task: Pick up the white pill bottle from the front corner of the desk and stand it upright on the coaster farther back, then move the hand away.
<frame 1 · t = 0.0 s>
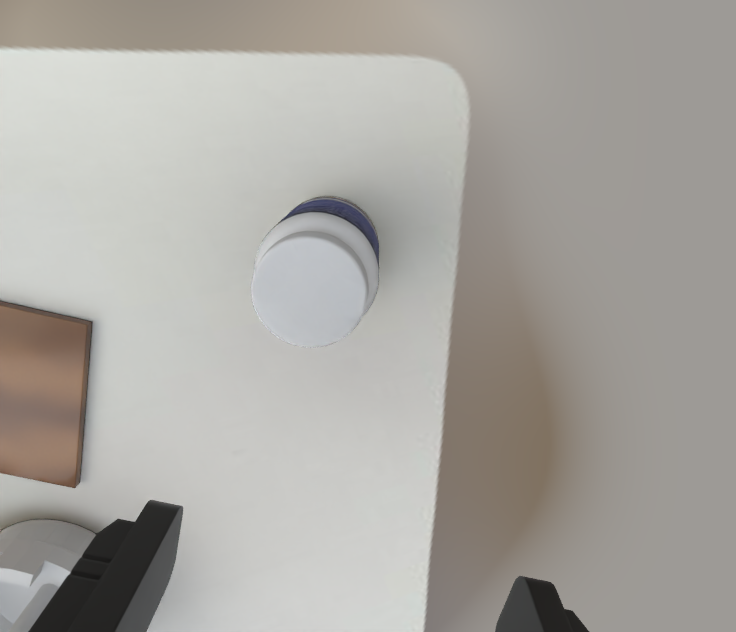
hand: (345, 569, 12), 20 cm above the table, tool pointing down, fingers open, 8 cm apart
flag stand: (59, 578, 38), on the table
pill bottle: (329, 245, 30), on the table
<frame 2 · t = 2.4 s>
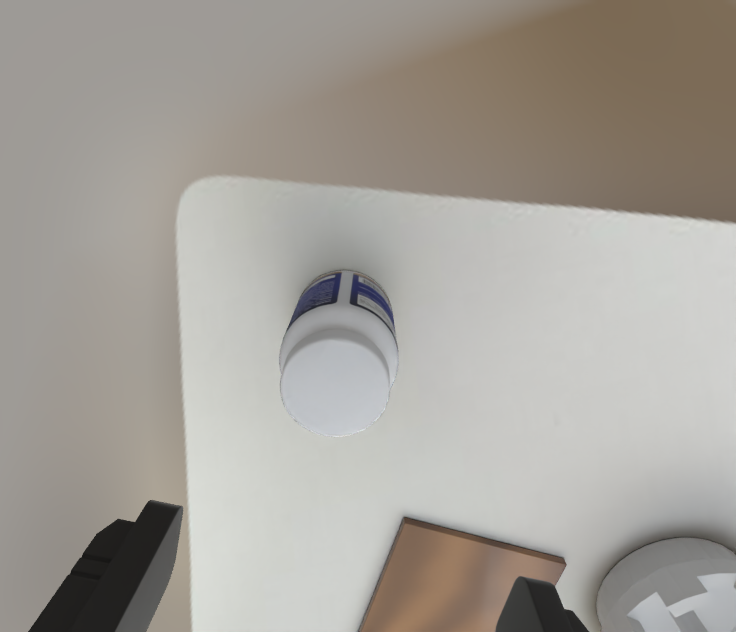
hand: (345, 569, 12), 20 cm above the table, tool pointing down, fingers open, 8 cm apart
coaster: (455, 600, 38), on the table
flag stand: (670, 595, 38), on the table
pill bottle: (345, 313, 31), on the table
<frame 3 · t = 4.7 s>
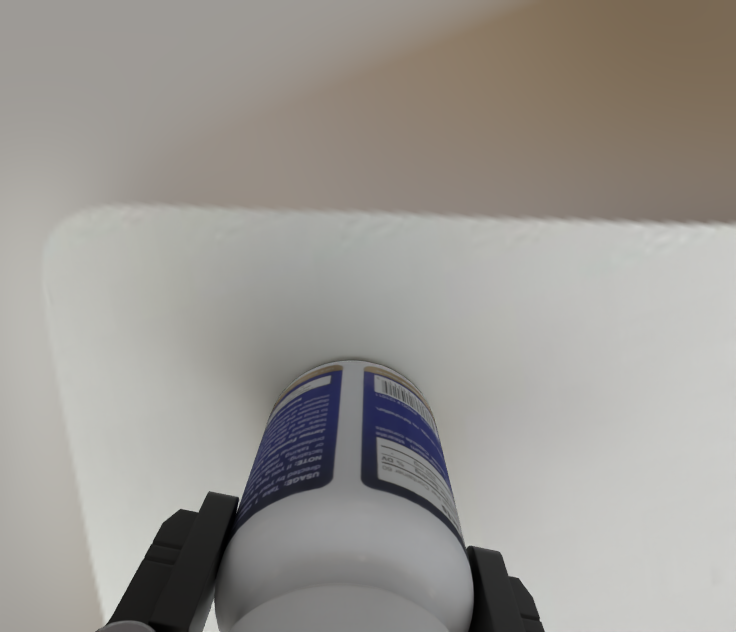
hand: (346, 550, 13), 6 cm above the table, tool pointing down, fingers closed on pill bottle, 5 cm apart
pill bottle: (353, 427, 18), on the table, touching gripper
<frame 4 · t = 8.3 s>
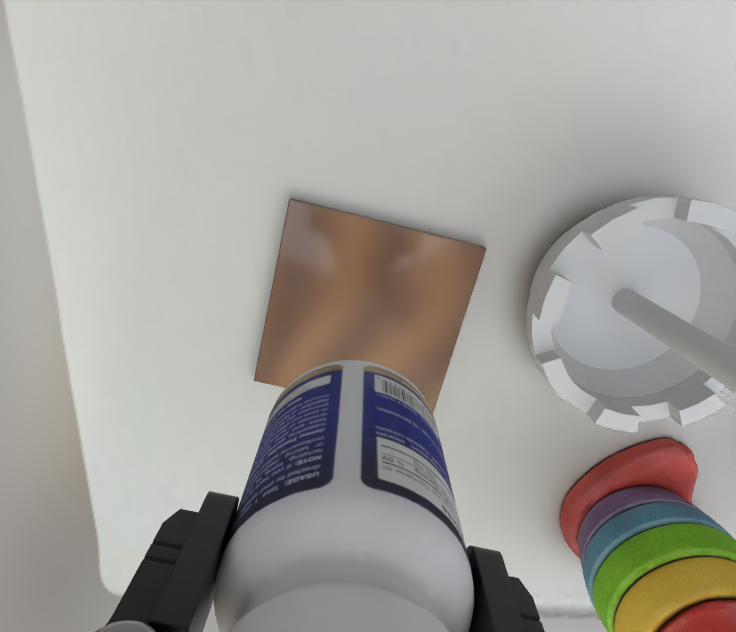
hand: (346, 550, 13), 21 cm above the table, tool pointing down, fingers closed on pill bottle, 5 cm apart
coaster: (365, 314, 33), on the table
flag stand: (615, 295, 33), on the table
stacking bear: (624, 508, 38), on the table
pill bottle: (353, 427, 18), point 15 cm above the table, touching gripper
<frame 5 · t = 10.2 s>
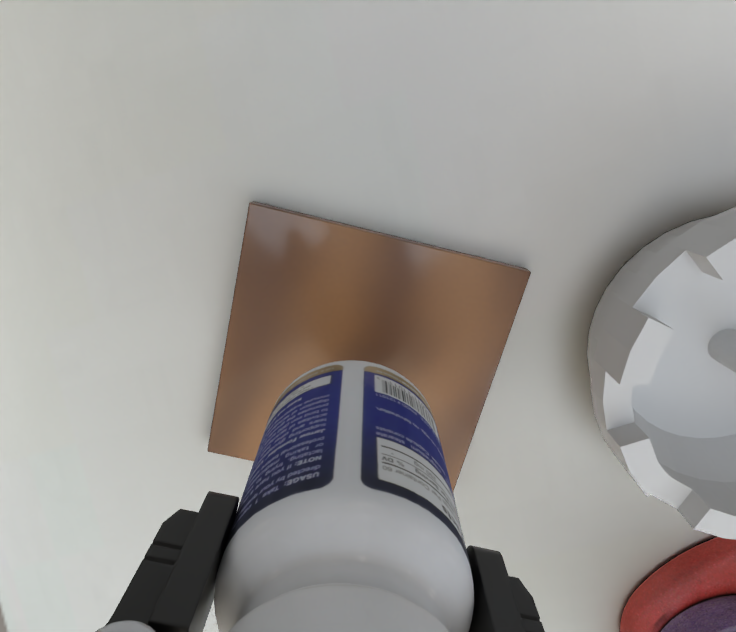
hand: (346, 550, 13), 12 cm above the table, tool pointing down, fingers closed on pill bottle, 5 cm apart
coaster: (359, 362, 24), on the table
flag stand: (708, 335, 23), on the table
stacking bear: (705, 611, 29), on the table
pill bottle: (353, 427, 18), point 6 cm above the table, touching gripper
when the fingers open (6 cm above the table, at t = 12.0 s): pill bottle stays where it is, resting on coaster.
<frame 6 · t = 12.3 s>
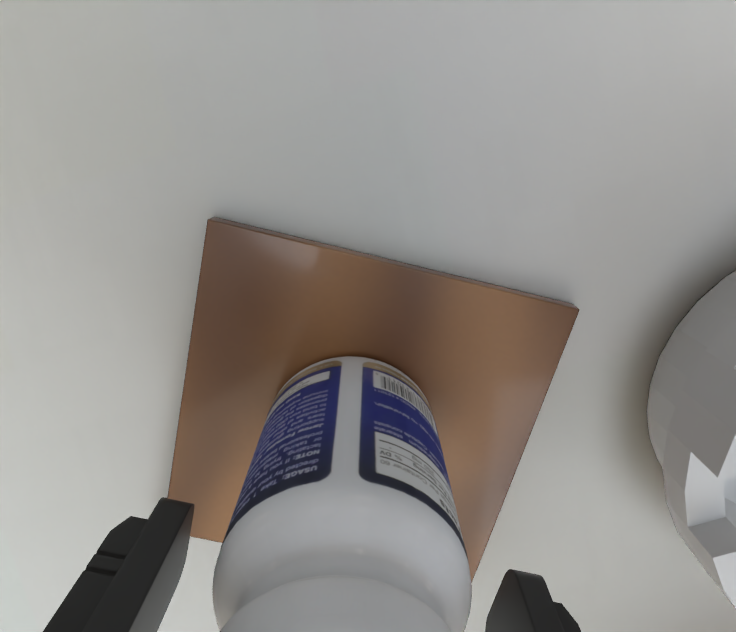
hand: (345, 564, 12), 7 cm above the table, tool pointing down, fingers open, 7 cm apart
coaster: (354, 420, 19), on the table
pill bottle: (352, 423, 18), resting on coaster
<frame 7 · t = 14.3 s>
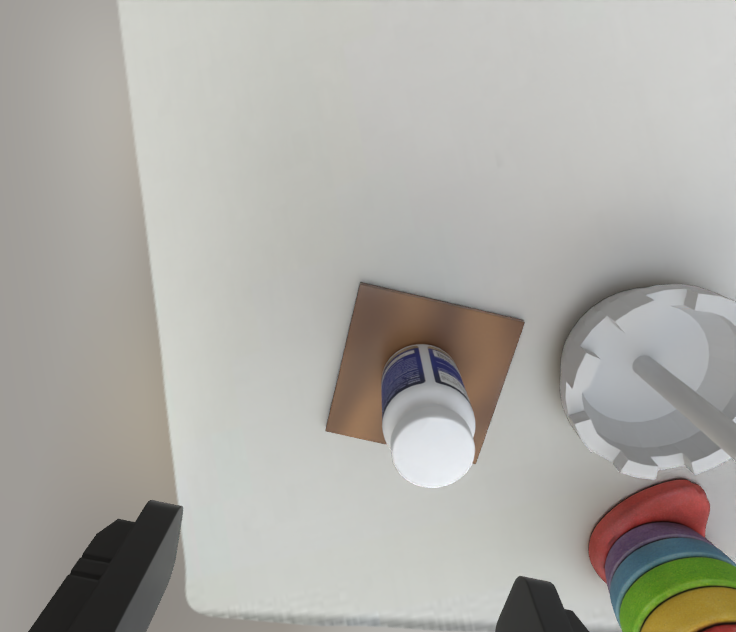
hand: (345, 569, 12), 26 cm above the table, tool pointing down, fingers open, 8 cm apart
coaster: (420, 375, 39), on the table
flag stand: (635, 358, 38), on the table
stacking bear: (645, 539, 43), on the table
pill bottle: (420, 376, 38), resting on coaster
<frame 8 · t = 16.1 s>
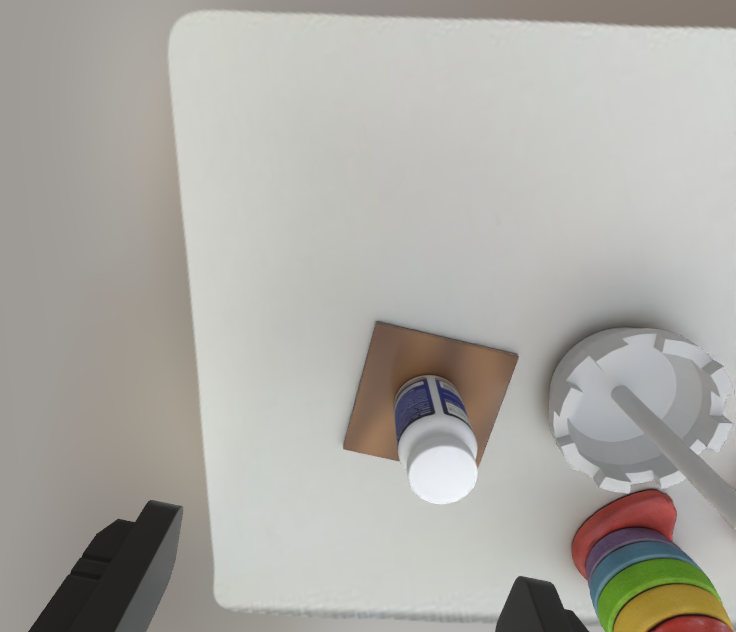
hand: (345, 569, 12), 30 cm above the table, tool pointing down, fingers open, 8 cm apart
coaster: (427, 401, 44), on the table
flag stand: (613, 387, 44), on the table
stacking bear: (621, 541, 49), on the table
pill bottle: (427, 402, 44), resting on coaster
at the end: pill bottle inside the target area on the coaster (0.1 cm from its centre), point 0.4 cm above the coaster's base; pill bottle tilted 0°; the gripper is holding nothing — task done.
